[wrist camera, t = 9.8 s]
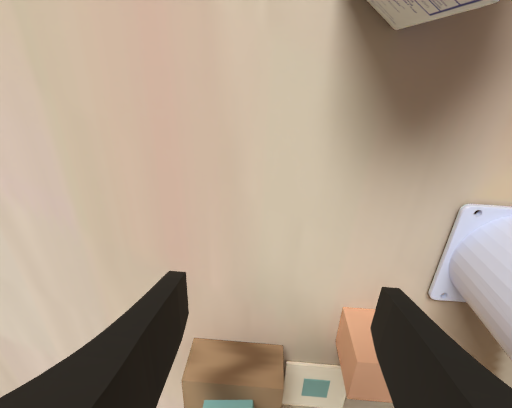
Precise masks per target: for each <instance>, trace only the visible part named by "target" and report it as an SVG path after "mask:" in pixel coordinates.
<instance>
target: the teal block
mask: <svg viewBox="0 0 512 408" xmlns="http://www.w3.org/2000/svg"><path fill="white" fill-rule="evenodd" d="M203 408H254V403H253V400H204V404H203Z"/></svg>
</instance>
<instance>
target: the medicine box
mask: <svg viewBox="0 0 512 408" xmlns="http://www.w3.org/2000/svg"><path fill="white" fill-rule="evenodd" d="M367 1H368V2H369V3H370V5H371V6H372V7H373V8H374V9H375V10H376V11H377V12H378V13H379V14H380V15H381V16H382V17H383V18H384V19H385V20H386V21H387V22H388V23H389V24H390V26H391V27H392V28H393V29H395V30H400V29H403V28H406V27H410V26H413V25H417V24H421V23H425V22H429V21H432V20H436V19H440V18H443V17H447V16H451V15H454V14H458V13H462V12H466V11H470V10H473V9H477V8H480V7H484V6H487V5H491V4H494V3H496V2H498V1H500V0H367Z"/></svg>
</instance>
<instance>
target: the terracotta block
mask: <svg viewBox="0 0 512 408" xmlns="http://www.w3.org/2000/svg"><path fill="white" fill-rule="evenodd" d="M375 310H376V309H362V308H349V307H343V309H342V314H341V318H340V323H339V328H338V332H337V337H336V346H337V351H338V356H339V361H340V366H341V371H342V376H343V380H344V385H345V390H346V395H347V399H356V400H367V401H379V402H391V403H393V402H392V399H391V396H390V394H389V391H388V388H387V385H386V382H385V380H384V377H383V374H382V371H381V368H380V365H379V362H378V359H377V356H376V352H375V348H374V344H373V339H372V334H371V329H370V327H371V323H372V320H373V317H374V313H375Z"/></svg>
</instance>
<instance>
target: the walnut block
mask: <svg viewBox="0 0 512 408" xmlns="http://www.w3.org/2000/svg"><path fill="white" fill-rule="evenodd" d="M182 390H183V400H184V408H203V404H204V400H253V403H254V408H281V407H282V399H283V392H284V375H283V345H271V344H259V343H247V342H235V341H223V340H211V339H199V338H194V340H193V343H192V347H191V350H190V354H189V357H188V360H187V364H186V367H185V371H184V374H183V377H182Z"/></svg>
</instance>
